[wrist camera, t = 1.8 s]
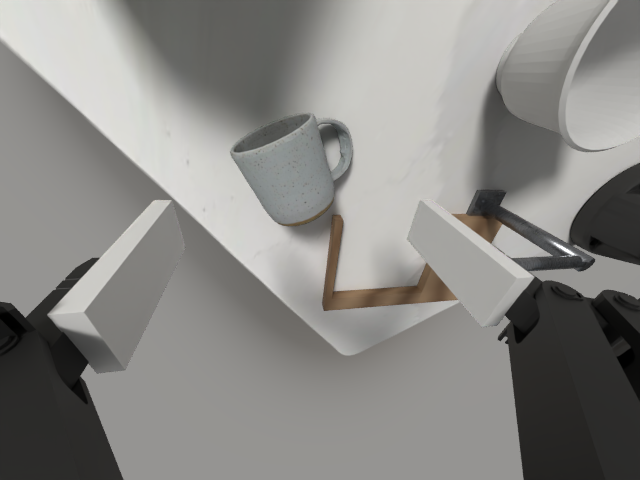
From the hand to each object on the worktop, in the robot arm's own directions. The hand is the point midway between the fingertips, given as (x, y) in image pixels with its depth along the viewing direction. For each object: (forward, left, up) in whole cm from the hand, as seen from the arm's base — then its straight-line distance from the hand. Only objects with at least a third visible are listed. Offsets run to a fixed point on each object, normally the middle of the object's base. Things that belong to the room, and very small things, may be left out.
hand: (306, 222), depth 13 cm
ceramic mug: (-1, 0, -15) cm, 15 cm away
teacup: (-24, -9, -14) cm, 30 cm away
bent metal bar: (-20, +6, -14) cm, 25 cm away
